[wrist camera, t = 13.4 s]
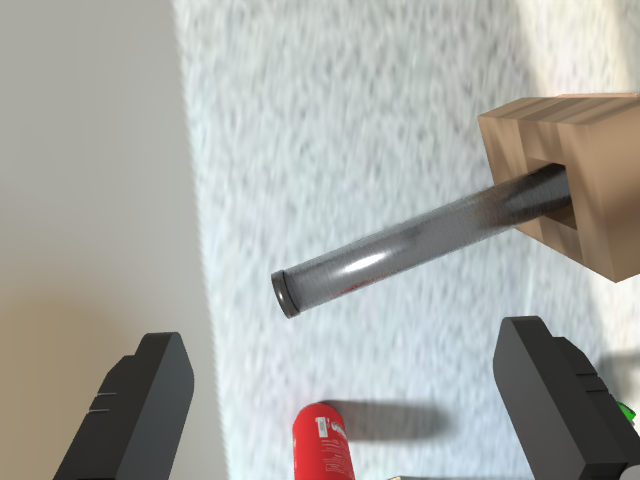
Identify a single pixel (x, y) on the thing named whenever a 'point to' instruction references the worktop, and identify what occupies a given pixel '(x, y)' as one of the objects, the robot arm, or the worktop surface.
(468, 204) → the shaft
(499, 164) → the bearing block
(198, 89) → the worktop surface
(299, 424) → the beverage can
